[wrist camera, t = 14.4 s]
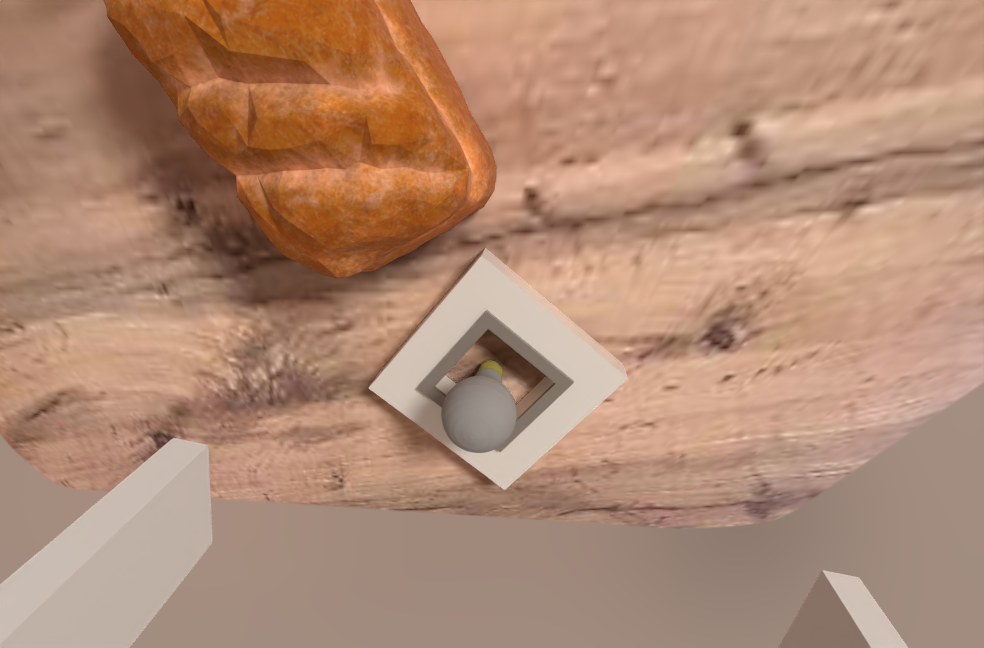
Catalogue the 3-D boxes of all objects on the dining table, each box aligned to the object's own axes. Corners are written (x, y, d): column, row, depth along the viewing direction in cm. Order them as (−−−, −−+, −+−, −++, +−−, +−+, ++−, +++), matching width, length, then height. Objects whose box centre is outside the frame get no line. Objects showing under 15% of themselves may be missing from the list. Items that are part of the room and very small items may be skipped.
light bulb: (501, 327, 42) (484, 388, 33) (535, 379, 44) (528, 451, 34) (448, 356, 44) (418, 422, 35) (482, 404, 45) (461, 479, 36)
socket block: (377, 374, 45) (366, 390, 42) (485, 247, 40) (481, 256, 37) (506, 471, 47) (504, 493, 45) (623, 364, 42) (628, 380, 40)
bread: (370, 272, 42) (280, 349, 27) (149, -59, 35) (-130, -190, 20) (518, 186, 38) (504, 222, 24) (306, -204, 31) (103, -488, 17)
